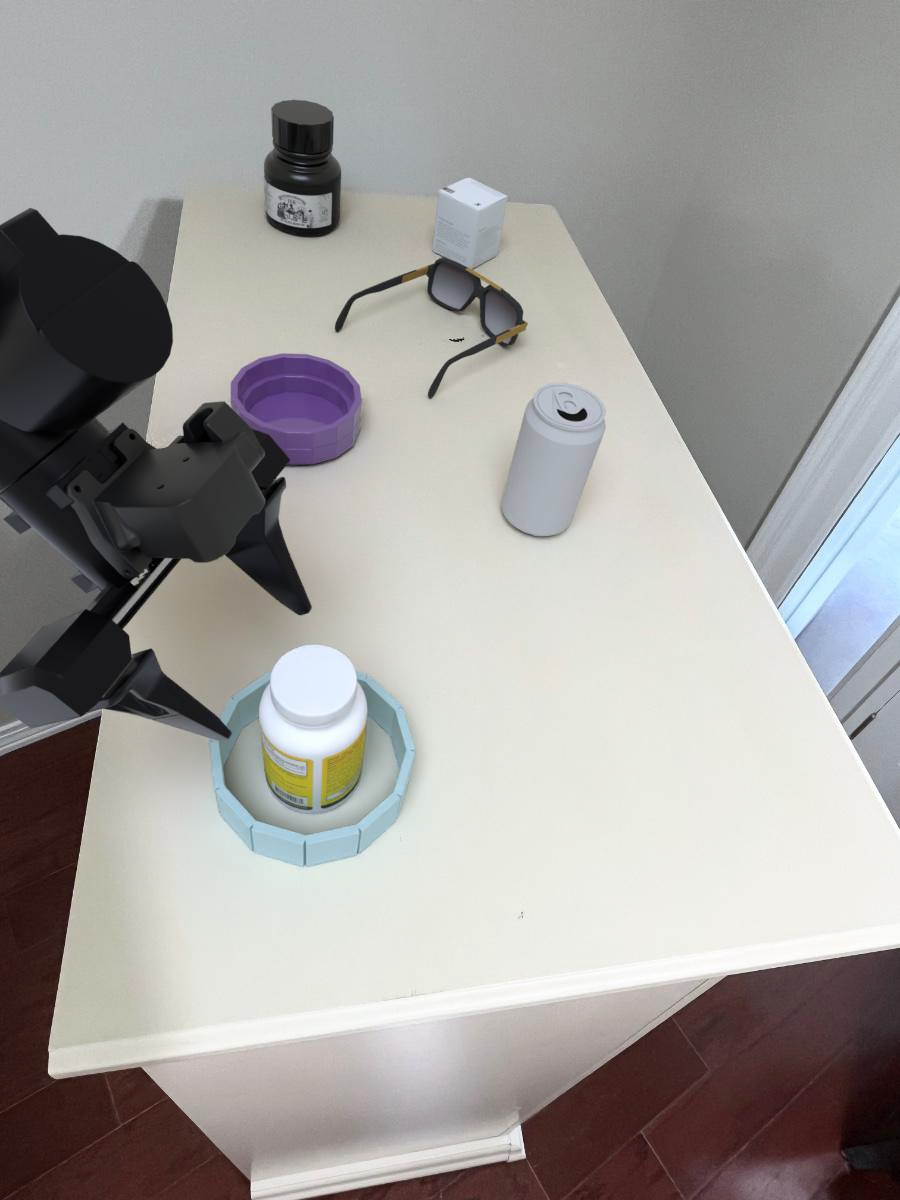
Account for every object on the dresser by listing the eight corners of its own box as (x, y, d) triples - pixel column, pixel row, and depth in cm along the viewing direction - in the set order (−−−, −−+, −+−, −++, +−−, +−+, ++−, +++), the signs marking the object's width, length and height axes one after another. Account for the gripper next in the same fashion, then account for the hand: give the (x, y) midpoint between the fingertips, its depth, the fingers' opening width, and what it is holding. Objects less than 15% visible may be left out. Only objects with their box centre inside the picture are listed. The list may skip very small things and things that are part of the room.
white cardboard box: (498, 256, 98) (510, 195, 92) (469, 272, 94) (479, 209, 89) (459, 236, 100) (469, 175, 94) (429, 251, 96) (437, 188, 91)
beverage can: (510, 544, 67) (543, 433, 57) (490, 492, 70) (518, 379, 61) (580, 539, 68) (623, 429, 59) (557, 487, 72) (594, 377, 63)
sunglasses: (334, 332, 83) (335, 287, 79) (435, 290, 91) (440, 247, 87) (429, 400, 78) (435, 356, 74) (526, 349, 86) (536, 307, 82)
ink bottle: (250, 224, 94) (244, 114, 85) (280, 195, 100) (277, 88, 90) (327, 246, 93) (330, 137, 84) (353, 215, 99) (357, 110, 90)
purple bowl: (213, 448, 69) (208, 411, 66) (262, 377, 76) (260, 341, 73) (335, 482, 68) (337, 446, 65) (373, 407, 76) (376, 372, 73)
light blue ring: (182, 831, 48) (174, 807, 45) (260, 671, 55) (257, 642, 53) (376, 889, 47) (380, 867, 44) (427, 719, 55) (433, 692, 52)
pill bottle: (356, 726, 54) (366, 629, 45) (366, 811, 50) (378, 723, 42) (263, 733, 52) (254, 635, 44) (265, 821, 49) (257, 733, 40)
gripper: (-36, 542, 26) (278, 811, 33) (248, 287, 38) (434, 526, 45) (-135, 608, 33) (142, 818, 40) (131, 375, 45) (308, 570, 52)
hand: (268, 670), depth 44 cm, fingers open, 9 cm apart
